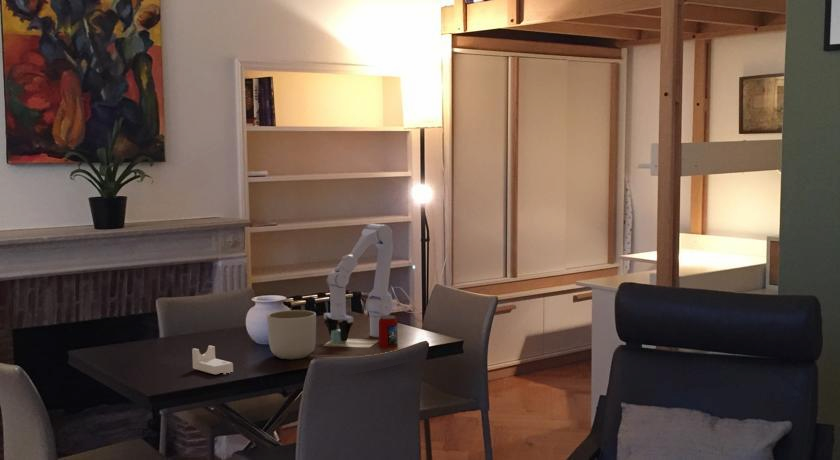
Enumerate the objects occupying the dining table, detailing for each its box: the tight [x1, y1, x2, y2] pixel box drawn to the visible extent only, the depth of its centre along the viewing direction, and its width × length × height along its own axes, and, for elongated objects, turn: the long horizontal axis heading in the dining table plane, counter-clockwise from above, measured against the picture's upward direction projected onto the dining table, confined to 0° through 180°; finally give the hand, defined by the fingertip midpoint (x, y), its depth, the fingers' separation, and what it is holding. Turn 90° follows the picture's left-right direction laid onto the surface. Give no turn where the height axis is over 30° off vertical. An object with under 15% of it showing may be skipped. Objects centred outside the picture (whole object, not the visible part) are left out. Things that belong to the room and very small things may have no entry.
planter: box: [266, 309, 317, 360], centre depth 336 cm, size 17×17×15 cm
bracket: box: [191, 345, 234, 375], centre depth 316 cm, size 13×7×8 cm, turn 45°
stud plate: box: [322, 338, 379, 349], centre depth 353 cm, size 14×18×4 cm
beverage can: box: [378, 314, 399, 349], centre depth 346 cm, size 7×7×12 cm
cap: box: [330, 328, 347, 344], centre depth 354 cm, size 6×6×4 cm
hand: (338, 339), depth 354 cm, fingers closed on cap, 6 cm apart
